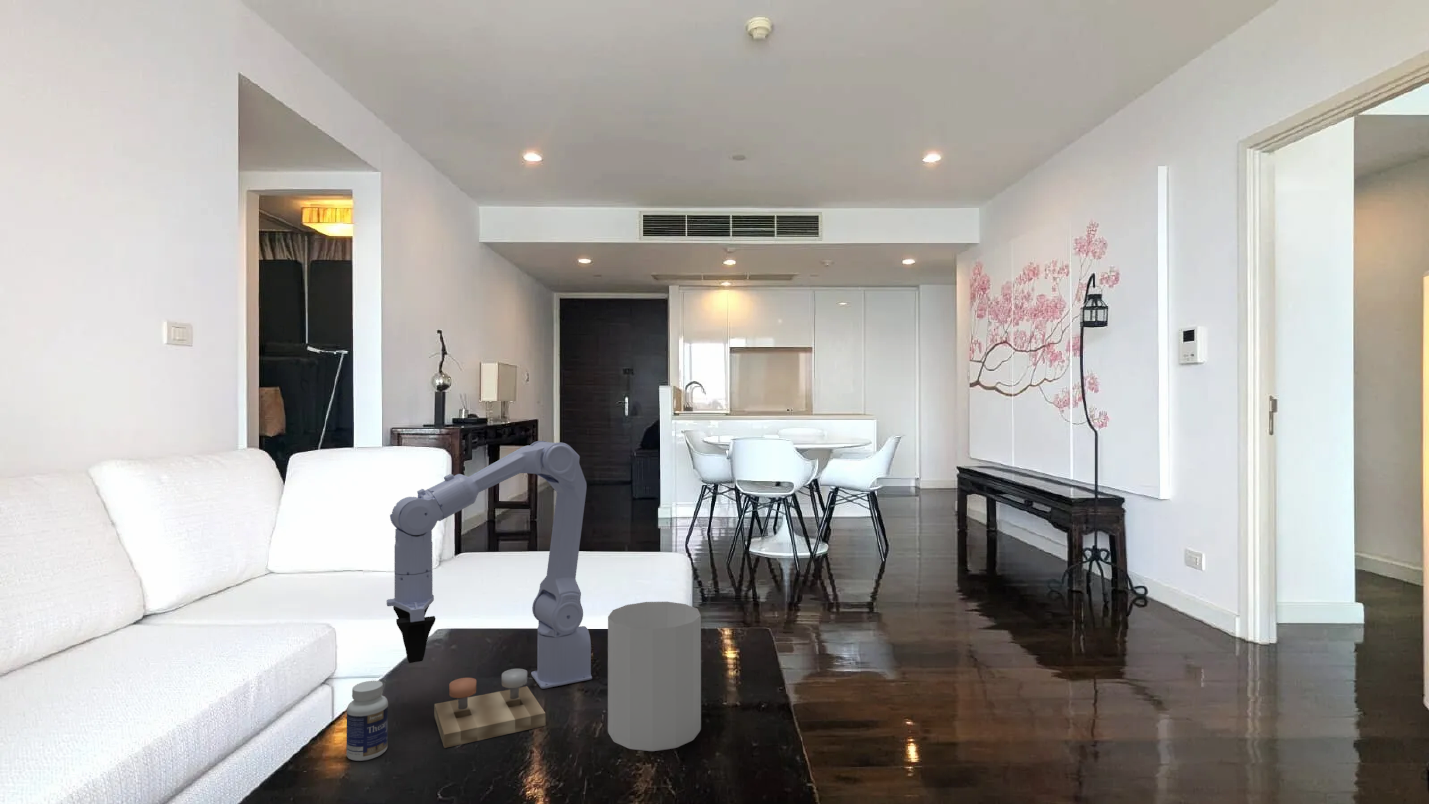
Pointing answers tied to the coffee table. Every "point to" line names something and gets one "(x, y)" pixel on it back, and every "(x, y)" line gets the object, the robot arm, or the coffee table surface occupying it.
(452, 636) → the coffee table surface
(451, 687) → the rust plunger
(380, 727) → the pill bottle
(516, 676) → the grey plunger
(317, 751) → the coffee table surface
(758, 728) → the coffee table surface
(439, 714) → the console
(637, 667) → the container
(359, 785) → the coffee table surface
